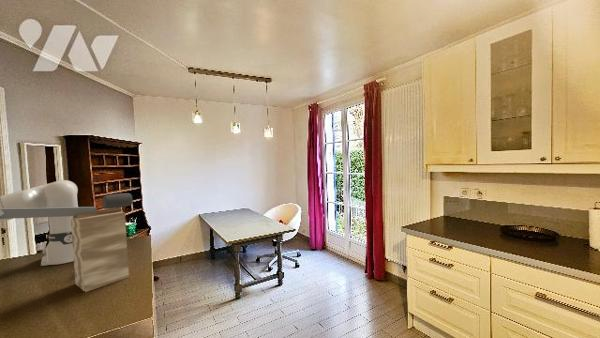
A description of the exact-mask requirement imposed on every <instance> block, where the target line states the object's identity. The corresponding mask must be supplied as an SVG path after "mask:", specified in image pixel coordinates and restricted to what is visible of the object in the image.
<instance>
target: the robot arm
mask: <svg viewBox="0 0 600 338" xmlns="http://www.w3.org/2000/svg"><path fill="white" fill-rule="evenodd" d="M78 191H79V189H78V186H77V184H76V183H75V182H73V181H71V180H66V179H63V180H57V181H53V182H50V183H46V184H41V185H38V186H34V187H30V188H27V189H22V190H20V191H16V192H15V191H14V192H11V193H7V194H4V195H1V196H0V208H56V207H79V204H78V203H79V202H78V193H79V192H78ZM3 214H4V212H3V211H2V210H0V216H1V215H3ZM14 219H15V218H13V220H14ZM10 220H11V219H0V223H2V222H6V221H10ZM48 224H49V233H48V241H49V242H48V244H47V245H46V247H45V248H43V249H42V254H43V256H42V257H41V262H40V266H41V267H43V266H50V265H52V266H53V265H62V264H63V265H64V264H67V263H71V262H74V257H73V243H72V229H71V216H65V217H48Z"/></svg>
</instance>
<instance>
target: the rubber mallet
mask: <svg viewBox="0 0 600 338" xmlns="http://www.w3.org/2000/svg"><path fill="white" fill-rule="evenodd" d="M132 204H133V195H132V194H131V193H129V192H125V193H114V194H109V195H104V196H103V197H102V206H103V208H104V209H111V208H117V209H122V208H124V207H128V206H129V207H130V206H131V205H132Z"/></svg>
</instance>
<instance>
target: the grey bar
mask: <svg viewBox="0 0 600 338" xmlns="http://www.w3.org/2000/svg"><path fill="white" fill-rule="evenodd" d="M0 210H2V211H3V212H4V214H3V215H1V216H0V219H10V220H12V219H13V218H14V219H36V218H38V219H39V218H49V217H65V216H77V215H81V214H88V213H94V212H96V211H97V207H96V206H78V207H56V208H0ZM14 219H13V220H14Z"/></svg>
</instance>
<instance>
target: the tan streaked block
mask: <svg viewBox="0 0 600 338" xmlns="http://www.w3.org/2000/svg"><path fill="white" fill-rule="evenodd" d="M126 225H127V224H126V212H125V211H122V208H121V209H117V208H110V209H105V208H104V209H98V210H97V209H96V212H94V213H88V214H81V215H77V216H71V229H72V243H73V257H74V261H73V269H74V282H75V286H77V287H79V289H81V290H82V291H83V292H84V291H85V292H84V293H87V292H90V291H92V290H93V291H94V290H96V289H98V288H101V287H105V286H107V285H110V284H113V283H117V282H119V281H121V280H125V279H128V278H130V273H129V272H130V271H129V270H130V269H129V257H128V255H129V253H128V242H127V226H126Z"/></svg>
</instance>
